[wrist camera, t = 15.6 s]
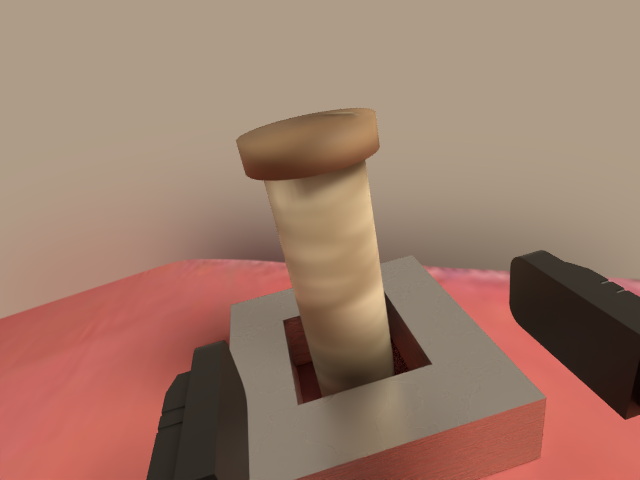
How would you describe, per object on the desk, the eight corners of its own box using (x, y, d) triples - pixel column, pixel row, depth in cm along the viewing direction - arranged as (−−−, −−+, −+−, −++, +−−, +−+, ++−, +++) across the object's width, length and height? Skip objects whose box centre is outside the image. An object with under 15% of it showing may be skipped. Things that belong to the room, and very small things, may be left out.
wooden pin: (322, 449, 18) (235, 155, 11) (304, 369, 22) (236, 130, 16) (426, 416, 18) (398, 117, 12) (388, 345, 23) (353, 103, 17)
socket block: (252, 555, 14) (224, 502, 13) (246, 347, 25) (230, 304, 23) (540, 457, 15) (546, 397, 14) (416, 298, 26) (412, 255, 25)
